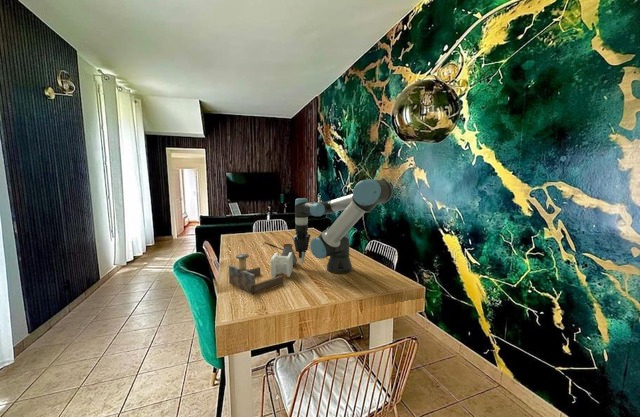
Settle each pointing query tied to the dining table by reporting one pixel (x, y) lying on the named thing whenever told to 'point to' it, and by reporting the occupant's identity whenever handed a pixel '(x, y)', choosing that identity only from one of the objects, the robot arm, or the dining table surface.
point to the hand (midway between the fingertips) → (301, 262)
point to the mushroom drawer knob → (242, 261)
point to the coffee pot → (286, 250)
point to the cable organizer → (281, 264)
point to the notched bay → (251, 280)
